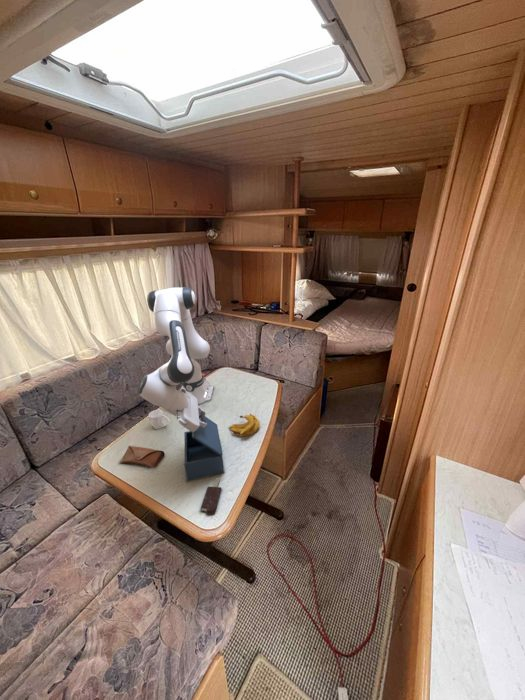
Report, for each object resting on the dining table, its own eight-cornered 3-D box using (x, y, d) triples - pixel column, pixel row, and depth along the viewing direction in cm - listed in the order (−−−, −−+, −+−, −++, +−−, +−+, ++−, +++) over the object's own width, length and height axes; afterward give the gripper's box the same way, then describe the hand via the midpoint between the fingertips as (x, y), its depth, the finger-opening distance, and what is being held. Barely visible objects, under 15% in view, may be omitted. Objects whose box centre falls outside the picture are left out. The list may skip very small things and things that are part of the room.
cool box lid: (192, 437, 103) (201, 428, 103) (190, 408, 121) (199, 400, 121) (221, 456, 111) (230, 447, 110) (216, 425, 128) (223, 418, 128)
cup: (155, 421, 147) (152, 409, 143) (172, 422, 145) (170, 410, 142) (148, 430, 140) (145, 417, 137) (167, 431, 139) (164, 418, 136)
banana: (262, 417, 147) (261, 408, 145) (256, 442, 130) (255, 432, 128) (234, 415, 150) (233, 406, 147) (225, 439, 132) (224, 430, 130)
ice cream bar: (211, 478, 111) (200, 513, 98) (211, 475, 111) (199, 510, 97) (224, 479, 111) (214, 514, 97) (223, 476, 110) (214, 511, 97)
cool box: (187, 480, 111) (184, 464, 107) (187, 447, 128) (184, 432, 125) (224, 472, 114) (222, 456, 111) (218, 440, 132) (216, 425, 128)
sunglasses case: (118, 463, 120) (120, 447, 120) (128, 459, 127) (130, 444, 127) (155, 468, 116) (157, 452, 117) (163, 464, 123) (165, 448, 124)
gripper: (182, 413, 98) (212, 430, 104) (182, 385, 116) (208, 401, 122) (171, 426, 99) (201, 441, 105) (173, 396, 117) (199, 411, 123)
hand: (205, 419), depth 114 cm, fingers closed on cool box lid, 6 cm apart
